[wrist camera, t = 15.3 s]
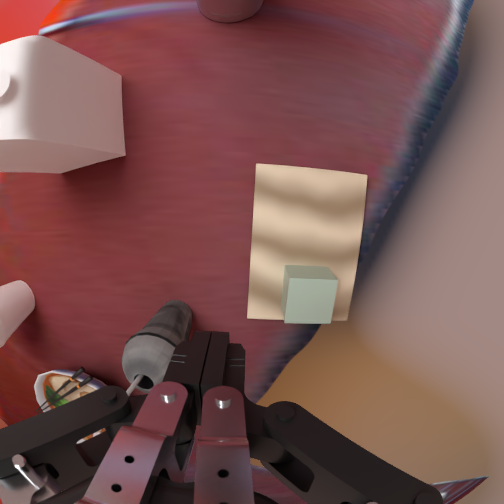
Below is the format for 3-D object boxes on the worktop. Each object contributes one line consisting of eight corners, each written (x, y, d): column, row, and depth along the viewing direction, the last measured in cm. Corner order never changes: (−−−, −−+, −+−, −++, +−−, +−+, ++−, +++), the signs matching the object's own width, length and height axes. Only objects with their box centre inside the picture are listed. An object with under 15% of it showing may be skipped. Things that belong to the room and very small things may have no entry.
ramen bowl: (109, 443, 49) (97, 468, 41) (36, 374, 45) (17, 395, 37) (180, 415, 46) (171, 448, 38) (88, 325, 41) (64, 351, 33)
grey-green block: (284, 264, 36) (289, 277, 32) (327, 266, 37) (338, 280, 32) (280, 304, 38) (284, 322, 33) (321, 306, 38) (330, 323, 33)
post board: (256, 164, 35) (256, 161, 29) (363, 174, 35) (380, 175, 30) (247, 313, 40) (246, 333, 35) (343, 315, 40) (355, 334, 35)
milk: (58, 99, 32) (-73, 69, 7) (121, 75, 31) (-6, -2, 6) (61, 173, 35) (-85, 191, 10) (125, 155, 34) (-34, 145, 9)
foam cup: (26, 325, 41) (-13, 358, 29) (2, 285, 39) (-41, 311, 27) (48, 308, 40) (4, 344, 28) (22, 263, 38) (-27, 289, 26)
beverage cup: (196, 341, 41) (165, 446, 22) (150, 327, 41) (95, 421, 21) (206, 299, 39) (173, 399, 20) (157, 284, 39) (90, 370, 20)
